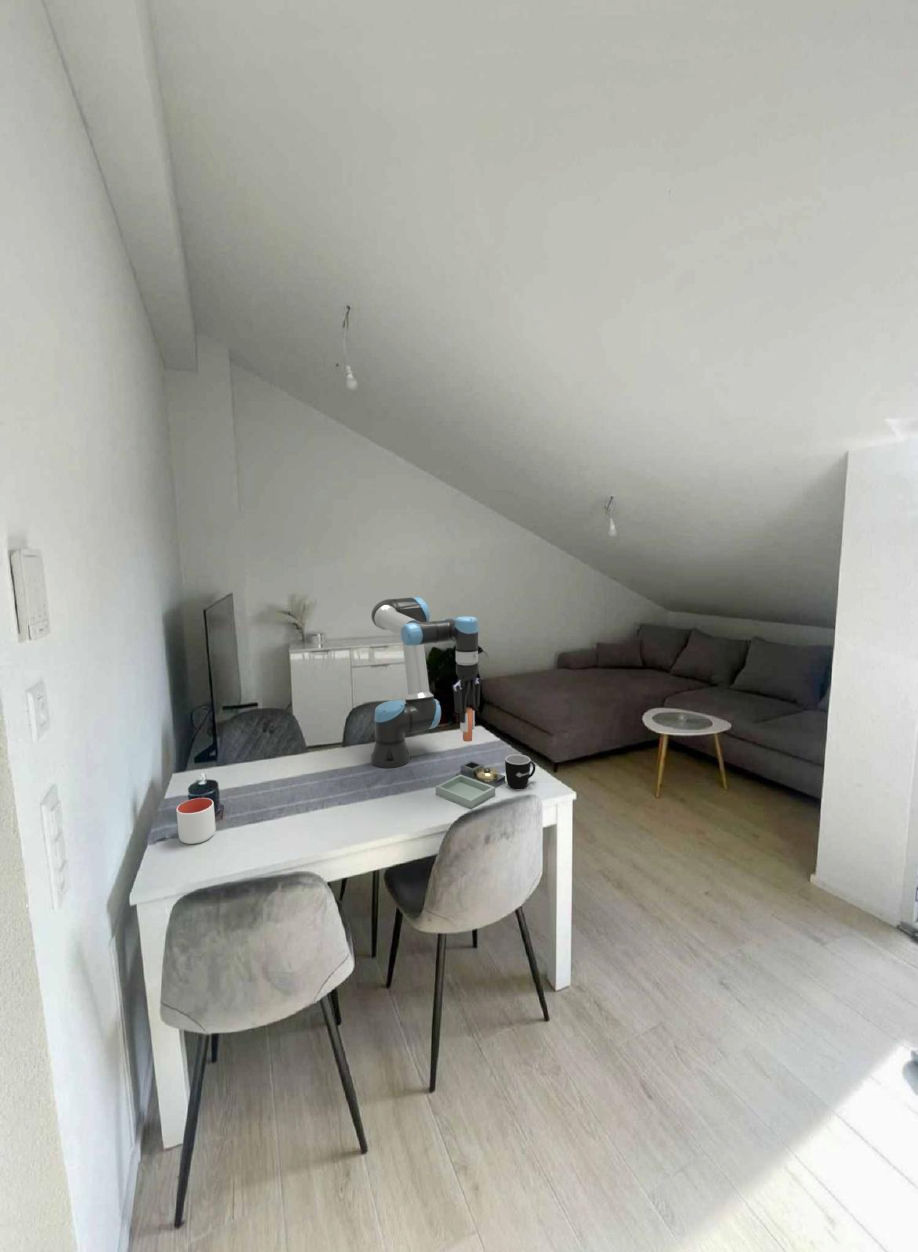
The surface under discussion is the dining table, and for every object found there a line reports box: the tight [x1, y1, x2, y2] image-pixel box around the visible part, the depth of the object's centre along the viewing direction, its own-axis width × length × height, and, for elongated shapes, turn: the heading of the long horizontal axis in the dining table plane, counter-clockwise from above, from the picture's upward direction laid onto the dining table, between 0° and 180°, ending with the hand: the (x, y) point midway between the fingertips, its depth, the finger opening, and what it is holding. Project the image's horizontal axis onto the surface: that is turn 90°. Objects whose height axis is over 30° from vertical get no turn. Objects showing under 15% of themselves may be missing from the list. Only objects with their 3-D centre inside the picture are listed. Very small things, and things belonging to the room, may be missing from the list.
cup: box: [175, 797, 217, 845], centre depth 166 cm, size 10×10×10 cm
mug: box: [504, 753, 536, 791], centre depth 200 cm, size 12×9×10 cm
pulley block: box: [455, 760, 506, 789], centre depth 203 cm, size 15×10×6 cm, turn 49°
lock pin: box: [462, 707, 473, 743], centre depth 191 cm, size 3×3×11 cm
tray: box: [435, 774, 496, 810], centre depth 193 cm, size 16×13×3 cm
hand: (467, 729), depth 191 cm, fingers closed on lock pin, 3 cm apart
